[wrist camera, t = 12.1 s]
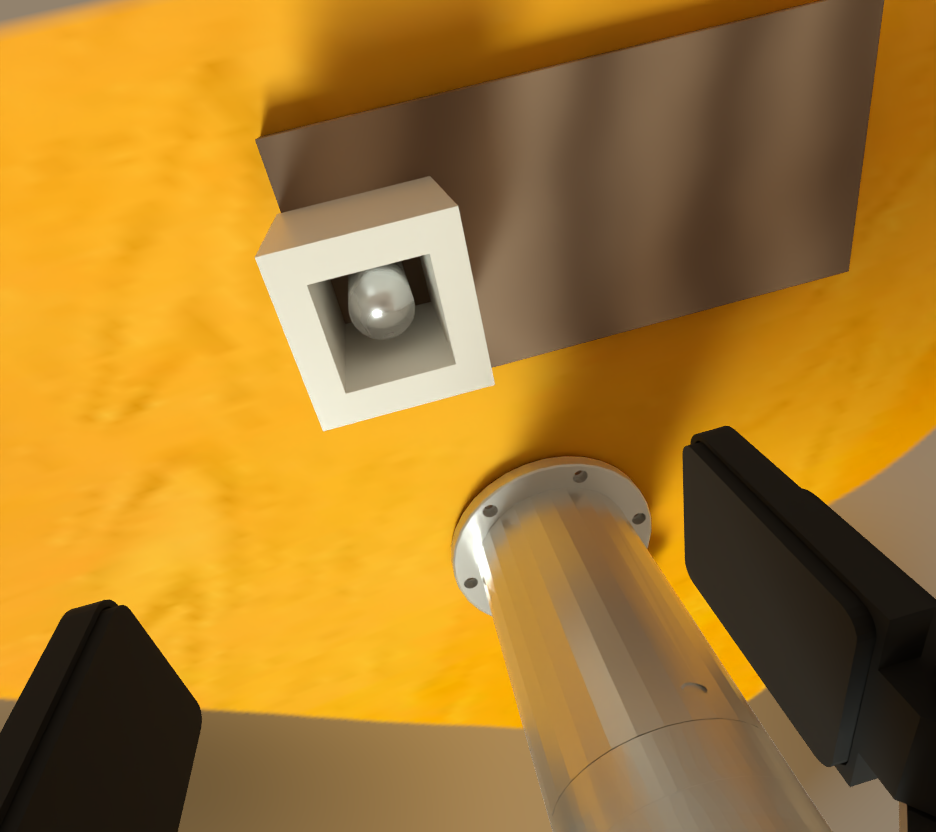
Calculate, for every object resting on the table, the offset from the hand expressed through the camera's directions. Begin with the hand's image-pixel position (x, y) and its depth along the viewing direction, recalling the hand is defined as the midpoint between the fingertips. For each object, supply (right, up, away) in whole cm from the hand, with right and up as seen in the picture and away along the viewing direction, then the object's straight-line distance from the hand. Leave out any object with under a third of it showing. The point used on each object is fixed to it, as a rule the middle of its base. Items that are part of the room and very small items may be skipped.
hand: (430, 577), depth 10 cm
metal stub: (-3, +9, +16) cm, 19 cm away
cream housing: (-3, +9, +16) cm, 19 cm away
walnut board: (+6, +12, +18) cm, 22 cm away
